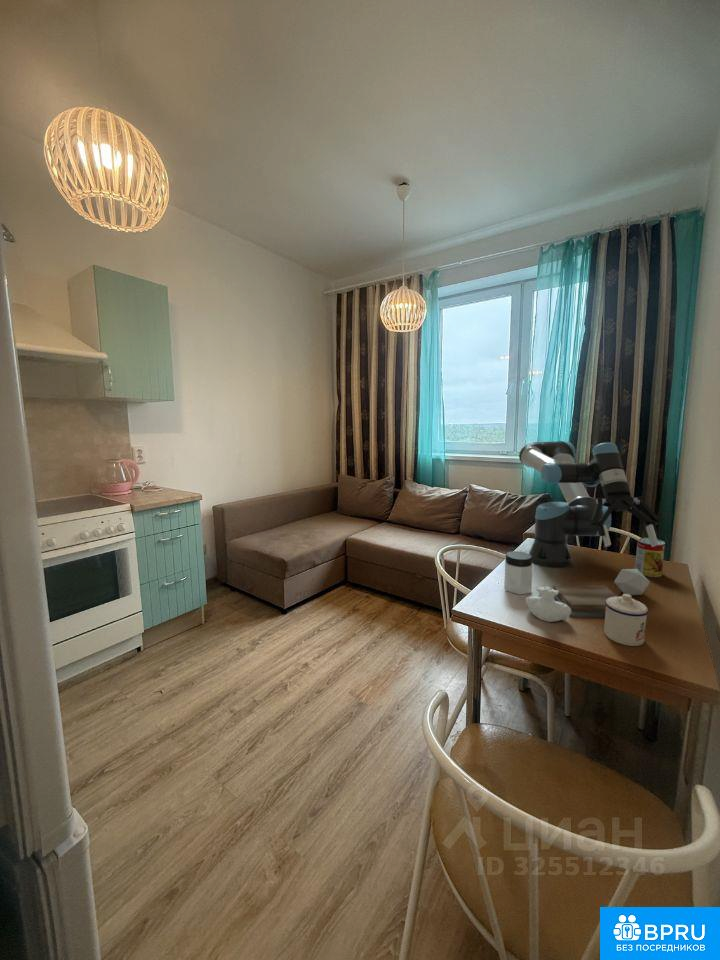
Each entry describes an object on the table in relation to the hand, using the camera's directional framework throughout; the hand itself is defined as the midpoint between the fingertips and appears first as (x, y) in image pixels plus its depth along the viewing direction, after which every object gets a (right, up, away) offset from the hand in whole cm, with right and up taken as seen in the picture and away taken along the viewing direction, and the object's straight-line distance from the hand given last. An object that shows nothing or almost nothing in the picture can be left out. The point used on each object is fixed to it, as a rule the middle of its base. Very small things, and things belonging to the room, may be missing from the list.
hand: (631, 545), depth 121 cm
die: (+2, -16, +3) cm, 16 cm away
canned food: (+19, -13, +18) cm, 30 cm away
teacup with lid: (-16, -20, -20) cm, 33 cm away
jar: (-33, -16, +8) cm, 37 cm away
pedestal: (-16, -17, -3) cm, 24 cm away
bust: (-32, -19, -11) cm, 39 cm away
